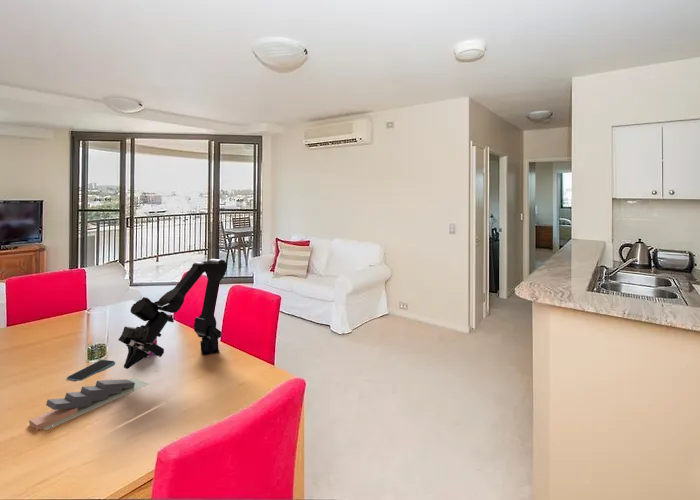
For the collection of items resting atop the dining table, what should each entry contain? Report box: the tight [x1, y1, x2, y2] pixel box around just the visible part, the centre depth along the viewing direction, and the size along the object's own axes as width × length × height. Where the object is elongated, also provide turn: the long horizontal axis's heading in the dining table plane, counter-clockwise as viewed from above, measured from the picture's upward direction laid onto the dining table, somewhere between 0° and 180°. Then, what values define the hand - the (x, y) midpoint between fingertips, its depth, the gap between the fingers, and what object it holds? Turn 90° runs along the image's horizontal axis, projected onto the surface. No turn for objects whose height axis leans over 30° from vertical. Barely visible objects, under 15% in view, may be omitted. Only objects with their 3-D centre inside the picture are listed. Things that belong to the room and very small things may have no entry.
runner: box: [42, 377, 150, 431], centre depth 119 cm, size 30×9×1 cm, turn 150°
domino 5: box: [95, 378, 135, 390], centre depth 124 cm, size 2×5×10 cm
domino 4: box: [80, 385, 122, 396], centre depth 120 cm, size 2×5×10 cm
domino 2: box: [45, 397, 92, 410], centre depth 113 cm, size 2×5×10 cm
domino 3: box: [64, 391, 108, 403], centre depth 117 cm, size 2×5×10 cm
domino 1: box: [28, 408, 78, 431], centre depth 109 cm, size 2×5×10 cm
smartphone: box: [66, 359, 116, 382], centre depth 140 cm, size 7×1×15 cm
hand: (125, 368), depth 127 cm, fingers closed
